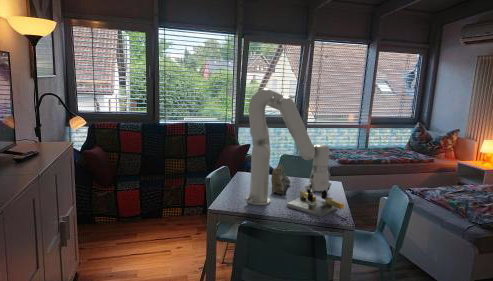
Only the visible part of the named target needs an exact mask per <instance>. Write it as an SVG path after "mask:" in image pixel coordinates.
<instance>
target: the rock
mask: <svg viewBox="0 0 493 281" xmlns="http://www.w3.org/2000/svg"><path fill="white" fill-rule="evenodd" d="M285 172H286V171H285V168H284V166H283V164H280V163H278V164H277V166H276V167H275V168H273V169H272V172H271V178H270V179H271V180H270V181H271V182H270V183H271V193H272V194H273V193H276V194H278V195H282V196H283V195H286V194H287V192H288V190H287V186H289V185H291V180H290V178H289V177H288V176H287V175H286V173H285Z"/></svg>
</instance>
